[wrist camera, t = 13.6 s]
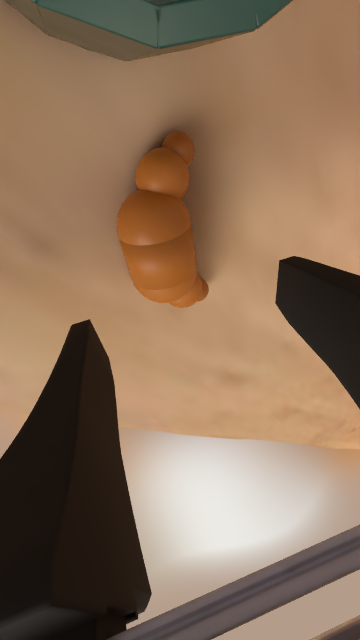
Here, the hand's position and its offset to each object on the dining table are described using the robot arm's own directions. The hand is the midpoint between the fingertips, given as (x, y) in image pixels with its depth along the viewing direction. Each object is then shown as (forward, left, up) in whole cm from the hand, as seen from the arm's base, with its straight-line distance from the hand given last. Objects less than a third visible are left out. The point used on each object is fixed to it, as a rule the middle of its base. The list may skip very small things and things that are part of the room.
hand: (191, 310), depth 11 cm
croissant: (0, -1, -8) cm, 8 cm away
